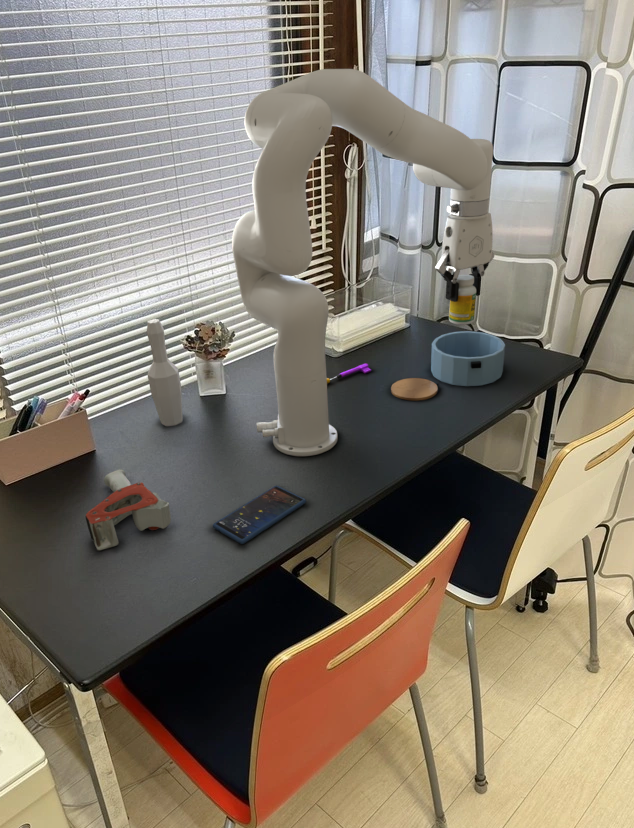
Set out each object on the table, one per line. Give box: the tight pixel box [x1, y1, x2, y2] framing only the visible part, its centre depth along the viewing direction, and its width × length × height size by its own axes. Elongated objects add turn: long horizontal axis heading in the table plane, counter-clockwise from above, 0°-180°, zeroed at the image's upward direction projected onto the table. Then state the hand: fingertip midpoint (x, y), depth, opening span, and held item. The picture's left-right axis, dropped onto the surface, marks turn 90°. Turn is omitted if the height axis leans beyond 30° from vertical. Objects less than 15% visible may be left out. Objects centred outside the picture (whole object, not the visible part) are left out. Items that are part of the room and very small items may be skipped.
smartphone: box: [212, 485, 307, 545], centre depth 117 cm, size 8×1×15 cm
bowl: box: [430, 330, 506, 387], centre depth 158 cm, size 16×18×6 cm
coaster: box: [390, 377, 439, 402], centre depth 153 cm, size 10×10×1 cm
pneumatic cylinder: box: [327, 363, 372, 385], centre depth 160 cm, size 3×1×16 cm
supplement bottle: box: [448, 274, 477, 326], centre depth 150 cm, size 5×5×10 cm
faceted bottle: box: [146, 318, 184, 427], centre depth 143 cm, size 6×6×22 cm
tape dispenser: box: [85, 469, 172, 551], centre depth 119 cm, size 18×5×20 cm
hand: (462, 296), depth 149 cm, fingers closed on supplement bottle, 5 cm apart
